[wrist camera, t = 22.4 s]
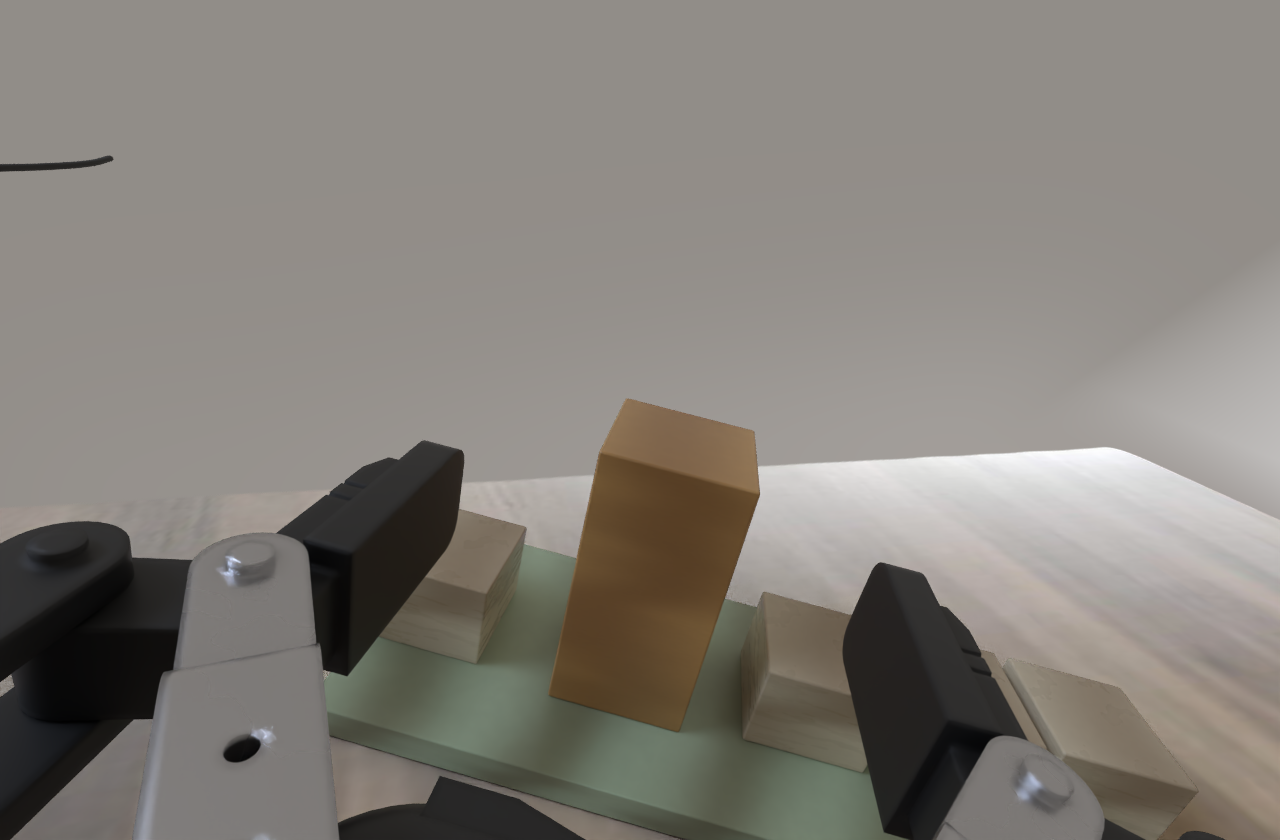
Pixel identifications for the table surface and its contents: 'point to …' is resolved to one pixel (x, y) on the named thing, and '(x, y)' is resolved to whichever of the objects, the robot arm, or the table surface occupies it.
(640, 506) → the brown wooden tall block
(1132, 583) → the table surface
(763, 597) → the green block tray
